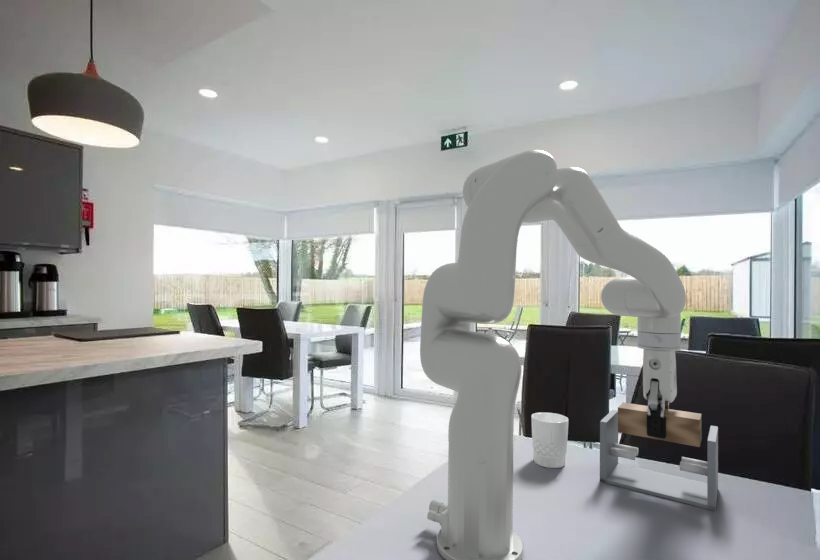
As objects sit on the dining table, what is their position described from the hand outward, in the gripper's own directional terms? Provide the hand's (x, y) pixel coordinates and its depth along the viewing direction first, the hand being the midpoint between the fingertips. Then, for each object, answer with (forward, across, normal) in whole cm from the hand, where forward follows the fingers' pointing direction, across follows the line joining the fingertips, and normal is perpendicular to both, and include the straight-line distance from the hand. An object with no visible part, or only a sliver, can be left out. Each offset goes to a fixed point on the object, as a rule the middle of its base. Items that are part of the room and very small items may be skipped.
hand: (658, 432), depth 89 cm
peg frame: (+10, 0, 0) cm, 10 cm away
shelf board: (+1, 0, 0) cm, 1 cm away
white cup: (+11, -2, +21) cm, 24 cm away
